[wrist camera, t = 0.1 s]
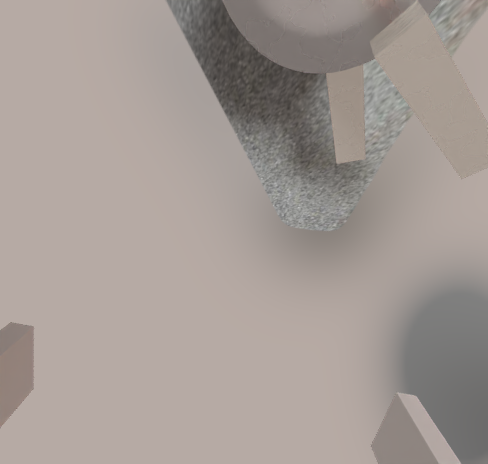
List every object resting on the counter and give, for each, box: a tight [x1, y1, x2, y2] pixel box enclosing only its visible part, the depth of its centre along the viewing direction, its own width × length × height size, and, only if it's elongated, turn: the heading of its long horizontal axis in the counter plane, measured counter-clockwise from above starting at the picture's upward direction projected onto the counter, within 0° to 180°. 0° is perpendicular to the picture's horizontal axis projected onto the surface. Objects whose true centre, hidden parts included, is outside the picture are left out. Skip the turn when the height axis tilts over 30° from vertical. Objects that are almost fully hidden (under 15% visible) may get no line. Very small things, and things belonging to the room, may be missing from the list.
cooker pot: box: [326, 64, 365, 164], centre depth 26 cm, size 26×14×12 cm, turn 19°
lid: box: [222, 0, 488, 179], centre depth 19 cm, size 28×15×4 cm, turn 49°
